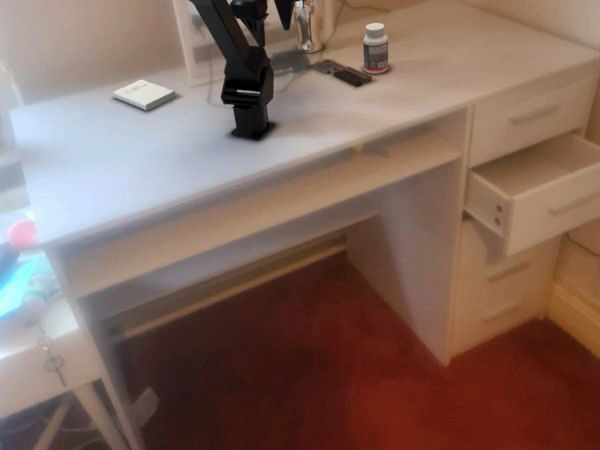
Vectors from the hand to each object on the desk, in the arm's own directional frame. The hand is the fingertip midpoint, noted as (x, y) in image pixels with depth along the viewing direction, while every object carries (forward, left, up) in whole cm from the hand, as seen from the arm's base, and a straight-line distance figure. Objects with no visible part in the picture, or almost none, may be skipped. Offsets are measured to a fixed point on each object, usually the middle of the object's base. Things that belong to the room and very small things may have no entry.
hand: (274, 38), depth 119 cm
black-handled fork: (+14, -6, -13) cm, 20 cm away
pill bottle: (+19, -13, -13) cm, 27 cm away
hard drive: (-10, +30, -13) cm, 34 cm away
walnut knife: (+16, -7, -13) cm, 22 cm away
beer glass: (+26, +8, -13) cm, 30 cm away
